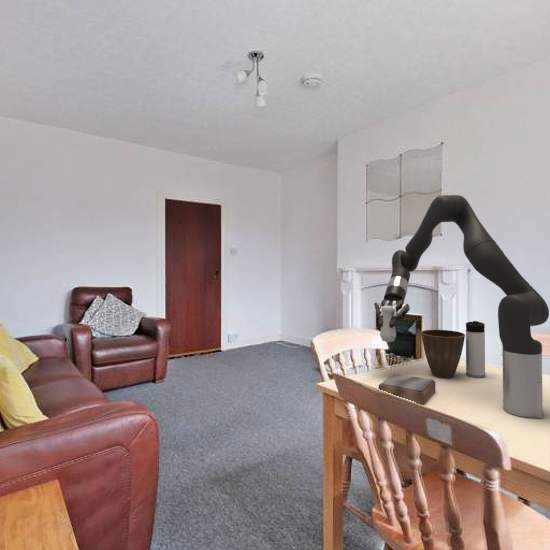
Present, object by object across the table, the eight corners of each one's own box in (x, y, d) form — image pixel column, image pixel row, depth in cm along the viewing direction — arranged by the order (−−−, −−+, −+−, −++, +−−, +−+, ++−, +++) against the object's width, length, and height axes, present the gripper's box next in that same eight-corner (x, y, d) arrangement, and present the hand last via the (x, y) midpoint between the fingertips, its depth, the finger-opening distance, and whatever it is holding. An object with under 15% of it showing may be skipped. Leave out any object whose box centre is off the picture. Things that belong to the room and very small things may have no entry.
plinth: (435, 391, 121) (435, 379, 121) (423, 404, 110) (423, 391, 110) (393, 384, 130) (393, 372, 130) (378, 395, 119) (378, 383, 119)
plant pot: (452, 368, 146) (452, 329, 146) (473, 380, 131) (473, 336, 131) (415, 370, 146) (414, 330, 145) (432, 382, 131) (432, 337, 131)
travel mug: (485, 374, 139) (485, 321, 138) (484, 379, 133) (484, 324, 132) (467, 371, 142) (466, 320, 141) (465, 376, 136) (464, 322, 136)
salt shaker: (397, 342, 133) (396, 306, 133) (380, 342, 134) (380, 307, 134) (395, 339, 139) (394, 305, 139) (379, 339, 140) (378, 305, 140)
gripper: (376, 284, 146) (364, 318, 137) (412, 284, 138) (402, 321, 128) (381, 296, 151) (370, 330, 141) (416, 297, 142) (407, 334, 133)
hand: (385, 326), depth 135 cm, fingers closed on salt shaker, 3 cm apart
